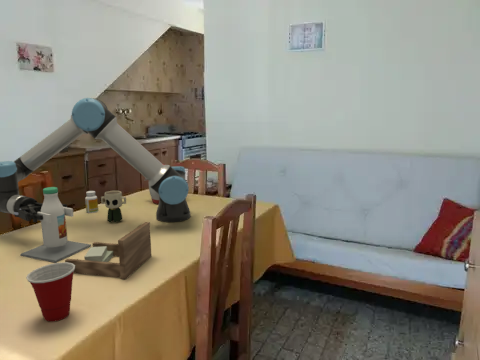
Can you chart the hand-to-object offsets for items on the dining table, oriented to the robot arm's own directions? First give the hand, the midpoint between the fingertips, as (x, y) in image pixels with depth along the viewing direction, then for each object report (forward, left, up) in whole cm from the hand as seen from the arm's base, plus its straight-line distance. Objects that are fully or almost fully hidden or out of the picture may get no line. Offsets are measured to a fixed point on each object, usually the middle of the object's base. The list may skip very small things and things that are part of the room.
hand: (61, 215), depth 137 cm
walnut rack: (-14, +14, -14) cm, 24 cm away
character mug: (-17, -34, -14) cm, 40 cm away
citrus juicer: (-41, -62, -14) cm, 75 cm away
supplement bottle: (-7, -54, -14) cm, 56 cm away
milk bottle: (+3, -4, -11) cm, 12 cm away
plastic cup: (-2, +43, -14) cm, 45 cm away
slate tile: (+3, -4, -14) cm, 14 cm away
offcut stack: (-11, +11, -14) cm, 21 cm away
